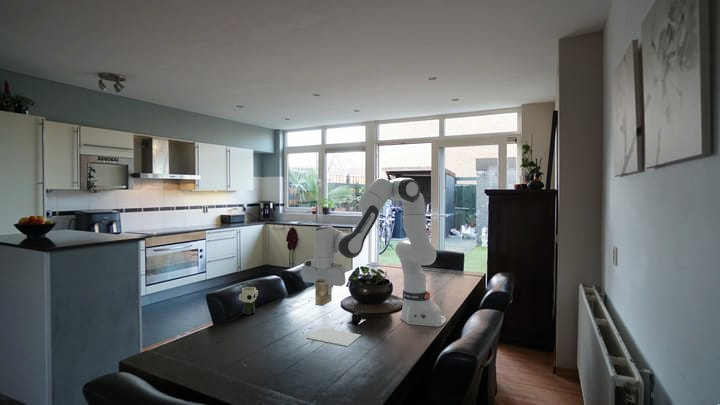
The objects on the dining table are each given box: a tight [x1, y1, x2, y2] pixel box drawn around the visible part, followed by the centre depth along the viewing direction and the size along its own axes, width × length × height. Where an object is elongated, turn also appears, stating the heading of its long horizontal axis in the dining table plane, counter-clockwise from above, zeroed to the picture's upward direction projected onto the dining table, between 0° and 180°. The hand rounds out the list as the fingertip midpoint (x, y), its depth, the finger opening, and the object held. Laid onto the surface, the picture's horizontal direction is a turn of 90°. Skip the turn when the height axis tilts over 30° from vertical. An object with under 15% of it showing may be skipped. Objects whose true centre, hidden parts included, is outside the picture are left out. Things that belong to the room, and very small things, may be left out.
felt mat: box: [306, 327, 362, 347], centre depth 163 cm, size 20×13×1 cm, turn 65°
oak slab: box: [314, 280, 333, 307], centre depth 164 cm, size 4×8×10 cm, turn 155°
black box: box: [347, 311, 367, 326], centre depth 183 cm, size 12×7×5 cm, turn 150°
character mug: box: [238, 286, 259, 315], centre depth 194 cm, size 11×7×13 cm, turn 140°
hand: (323, 293), depth 164 cm, fingers closed on oak slab, 3 cm apart
